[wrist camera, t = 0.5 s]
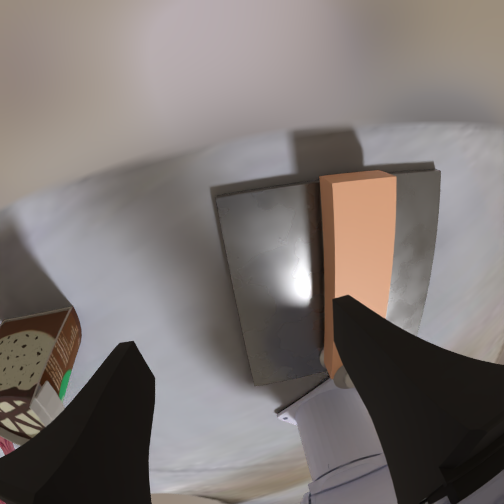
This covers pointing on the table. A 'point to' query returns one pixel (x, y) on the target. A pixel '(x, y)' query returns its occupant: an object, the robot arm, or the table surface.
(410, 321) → the label plate
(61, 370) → the food container
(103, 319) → the table surface
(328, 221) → the swing bar
